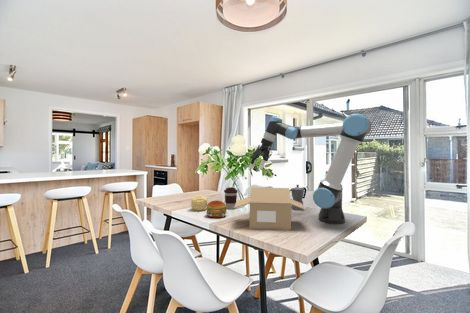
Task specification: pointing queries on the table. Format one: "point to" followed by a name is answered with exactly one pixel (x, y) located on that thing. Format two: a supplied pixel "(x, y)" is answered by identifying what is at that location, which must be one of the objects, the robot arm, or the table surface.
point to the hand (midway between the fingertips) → (255, 168)
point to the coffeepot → (298, 196)
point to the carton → (269, 214)
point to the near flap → (270, 195)
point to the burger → (216, 209)
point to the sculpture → (199, 203)
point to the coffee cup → (230, 197)
